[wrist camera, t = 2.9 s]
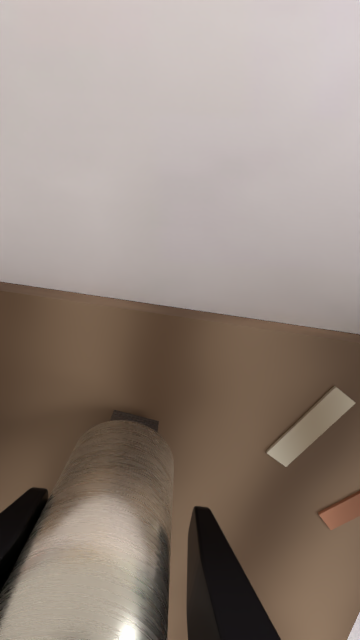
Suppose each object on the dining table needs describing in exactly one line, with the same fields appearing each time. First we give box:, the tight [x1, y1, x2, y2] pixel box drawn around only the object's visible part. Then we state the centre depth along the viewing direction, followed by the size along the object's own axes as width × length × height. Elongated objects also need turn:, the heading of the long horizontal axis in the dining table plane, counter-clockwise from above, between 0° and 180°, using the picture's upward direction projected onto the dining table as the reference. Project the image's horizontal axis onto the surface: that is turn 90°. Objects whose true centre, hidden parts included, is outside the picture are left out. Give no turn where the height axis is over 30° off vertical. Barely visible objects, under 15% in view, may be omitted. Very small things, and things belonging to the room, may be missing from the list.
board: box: [0, 282, 360, 640], centre depth 13 cm, size 23×21×1 cm
